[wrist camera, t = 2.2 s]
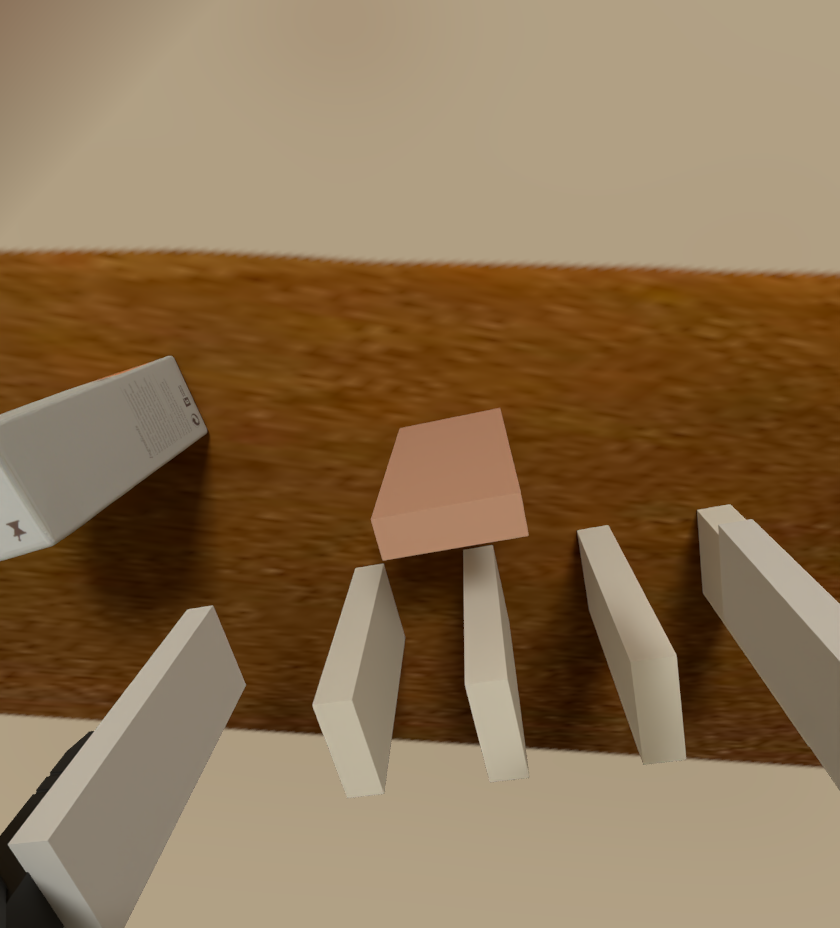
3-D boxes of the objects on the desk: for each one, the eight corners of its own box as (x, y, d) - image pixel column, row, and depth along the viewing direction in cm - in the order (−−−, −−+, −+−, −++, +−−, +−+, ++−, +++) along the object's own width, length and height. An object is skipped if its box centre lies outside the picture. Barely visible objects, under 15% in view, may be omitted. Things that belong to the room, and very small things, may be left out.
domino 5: (702, 592, 31) (808, 746, 21) (696, 509, 29) (808, 637, 20) (734, 588, 30) (854, 740, 21) (730, 504, 29) (859, 630, 19)
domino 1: (378, 642, 33) (347, 798, 24) (355, 568, 32) (312, 705, 22) (405, 637, 33) (384, 794, 24) (383, 563, 31) (351, 700, 22)
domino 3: (480, 626, 32) (489, 782, 23) (463, 549, 31) (464, 684, 21) (509, 622, 32) (529, 777, 23) (492, 544, 30) (507, 679, 21)
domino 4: (589, 610, 32) (643, 764, 22) (576, 530, 30) (630, 661, 21) (618, 605, 31) (686, 759, 22) (608, 525, 30) (676, 655, 20)
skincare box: (173, 351, 28) (-18, 425, 17) (211, 432, 29) (58, 550, 18) (67, 387, 29) (-181, 479, 18) (108, 463, 30) (-97, 594, 19)
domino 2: (505, 438, 28) (528, 535, 19) (407, 458, 29) (382, 560, 20) (500, 408, 28) (520, 492, 18) (399, 428, 28) (370, 519, 19)
